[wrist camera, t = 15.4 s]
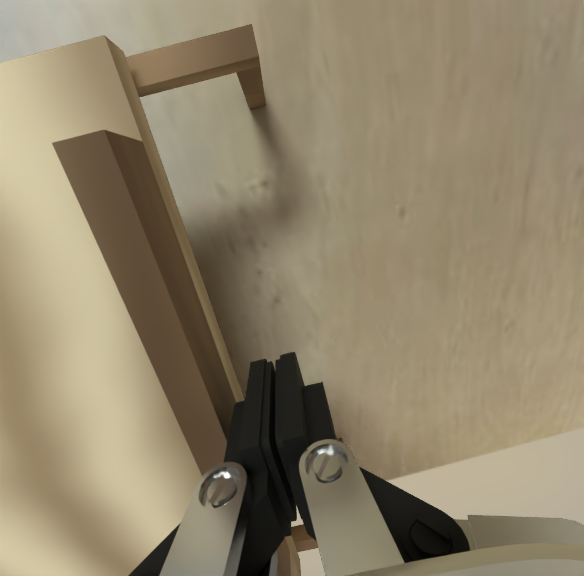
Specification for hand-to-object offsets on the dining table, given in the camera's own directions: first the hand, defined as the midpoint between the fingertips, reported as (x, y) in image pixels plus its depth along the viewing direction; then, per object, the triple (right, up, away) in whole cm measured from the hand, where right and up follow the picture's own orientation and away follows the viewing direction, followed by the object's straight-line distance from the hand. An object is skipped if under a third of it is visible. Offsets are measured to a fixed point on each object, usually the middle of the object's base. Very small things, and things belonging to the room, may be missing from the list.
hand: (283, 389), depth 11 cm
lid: (-9, -2, +1) cm, 9 cm away
